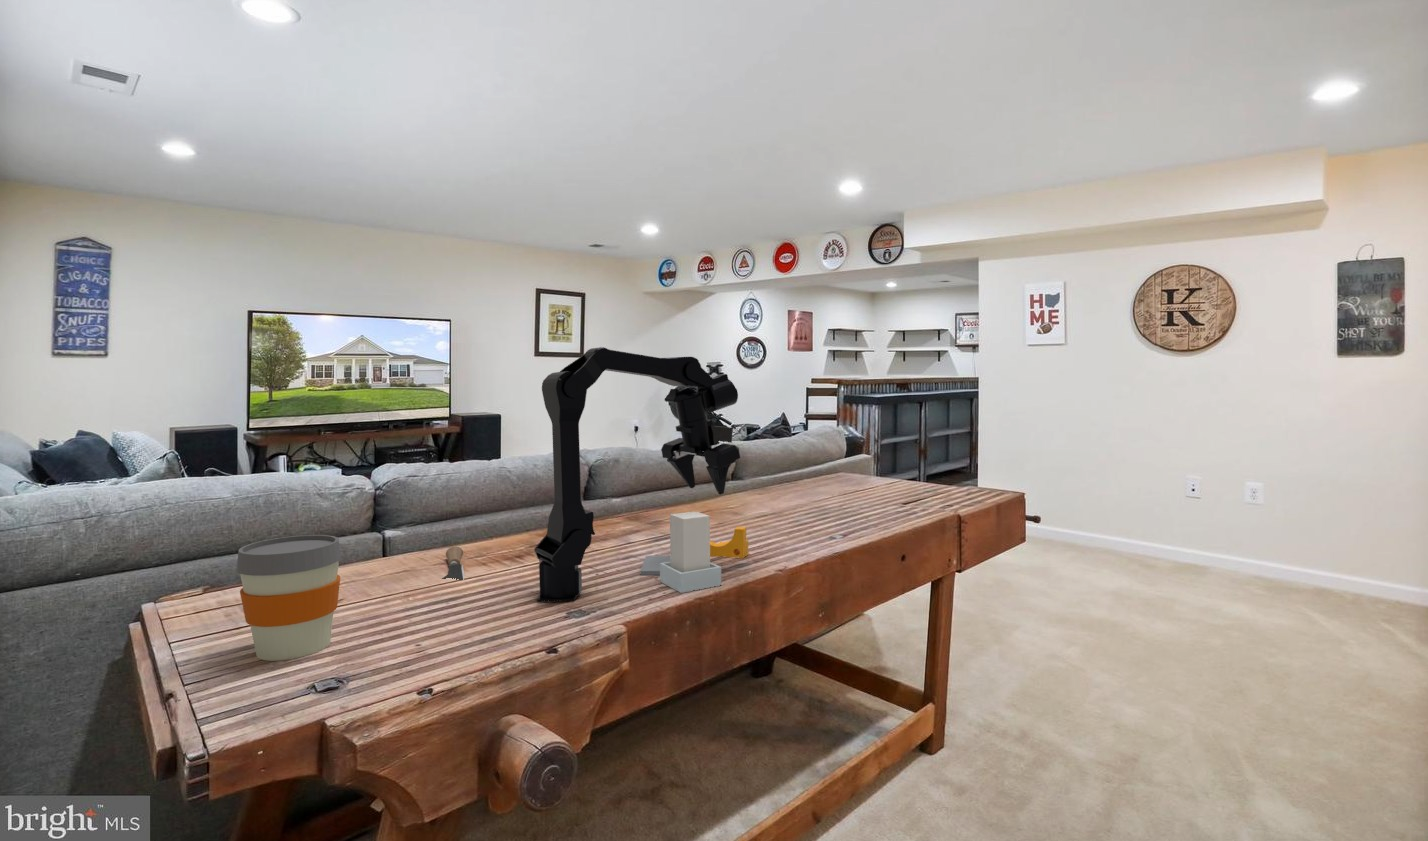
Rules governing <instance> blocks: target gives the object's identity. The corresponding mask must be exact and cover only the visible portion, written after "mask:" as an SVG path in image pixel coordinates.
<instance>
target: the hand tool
mask: <svg viewBox="0 0 1428 841" xmlns="http://www.w3.org/2000/svg"><path fill="white" fill-rule="evenodd" d="M463 555H464V550H463V549H462V548H461V547H460V546H458V545H457V546H455V545H454V546H451V547H449V548H448V549H447V550H446V551H445V556H446V559H447V563H448V573H447V574H446V575H445V576H444V577H442V578H441V579H446V578H452V579H453V578H454V579H455V578H456V580H457V579H459V580H464V578H465V576H466V575H465V572H464V571H465V570H464V565H463V564H461V560H462V559H461V558H462V557H463ZM465 579H466V578H465Z"/></svg>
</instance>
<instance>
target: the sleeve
mask: <svg viewBox="0 0 1428 841" xmlns="http://www.w3.org/2000/svg"><path fill="white" fill-rule="evenodd" d="M659 582H661V583H662V584H664V585H665V586H668V587H669V588H671V589H673V590H675V591H677V592H678V593H680V594H682V593H683V594H684V593H689V592H693V590H695V591H698V590H699V589H700V590H704V588H706V589H710V587H711V588H715V587H714V586H716V587H720V585H721V586H722V566H720V565H718V564H715V563H713V562H711V561H710V568H707V569H701V570H695V571H689V572H683V573H681V572H679V571H677V570H675V569H673V568H671V564H670V562H665V563H660V575H659ZM700 590H699V591H700Z"/></svg>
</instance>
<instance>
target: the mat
mask: <svg viewBox="0 0 1428 841" xmlns="http://www.w3.org/2000/svg"><path fill="white" fill-rule="evenodd" d="M665 562H670V555H663V554H662V555H646V556H645V558H644V560H643V564H642V565H641V568H640V572H639V574H640V576H660V563H665Z"/></svg>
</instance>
